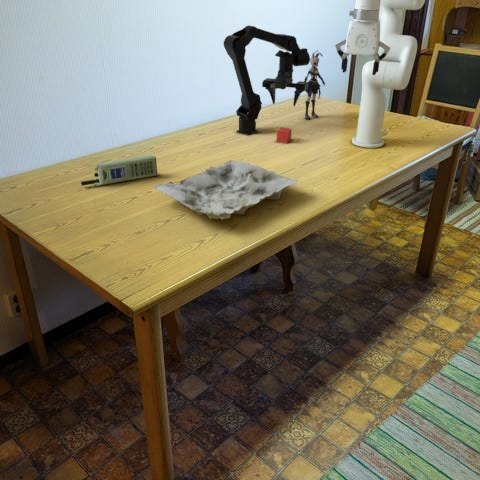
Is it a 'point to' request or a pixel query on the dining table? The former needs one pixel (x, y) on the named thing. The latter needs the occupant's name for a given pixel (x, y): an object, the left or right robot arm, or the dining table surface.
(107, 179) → the handheld radio
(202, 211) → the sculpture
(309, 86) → the figurine
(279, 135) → the block
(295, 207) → the dining table surface
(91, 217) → the dining table surface
